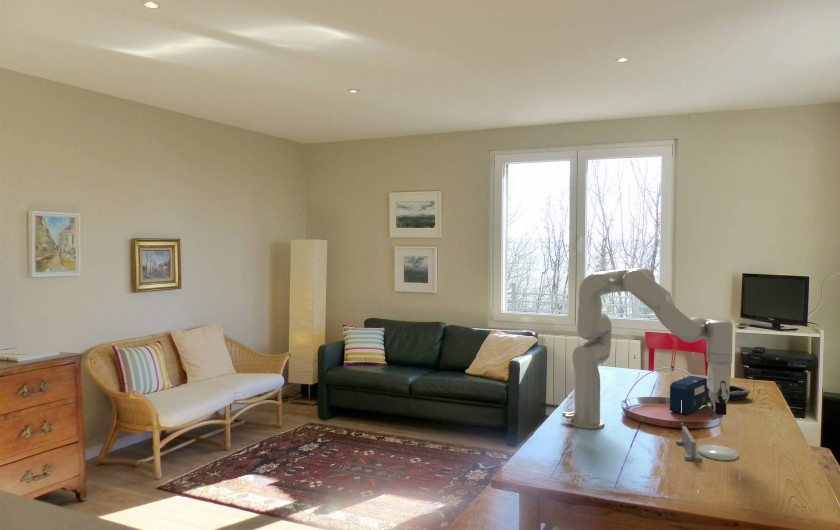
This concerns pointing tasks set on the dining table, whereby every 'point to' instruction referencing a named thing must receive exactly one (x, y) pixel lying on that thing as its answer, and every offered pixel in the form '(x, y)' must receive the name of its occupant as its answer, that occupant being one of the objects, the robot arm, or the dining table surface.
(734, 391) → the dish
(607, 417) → the dining table surface
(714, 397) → the lightbulb
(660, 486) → the dining table surface
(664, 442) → the dining table surface
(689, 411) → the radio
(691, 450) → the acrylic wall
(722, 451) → the white round dome
